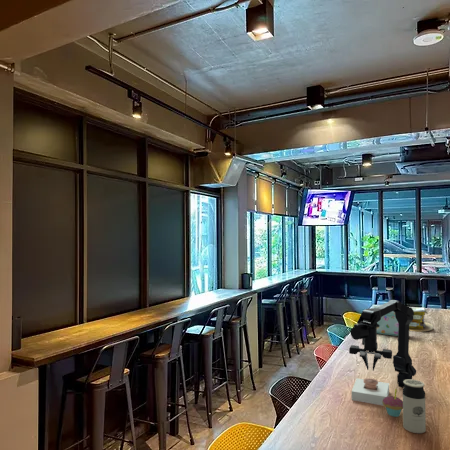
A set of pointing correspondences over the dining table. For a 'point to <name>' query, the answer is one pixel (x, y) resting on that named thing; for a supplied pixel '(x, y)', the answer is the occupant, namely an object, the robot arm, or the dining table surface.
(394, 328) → the lunch box
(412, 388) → the travel mug
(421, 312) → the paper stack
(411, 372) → the robot arm
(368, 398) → the button box
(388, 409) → the cupcake
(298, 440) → the dining table surface
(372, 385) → the button
